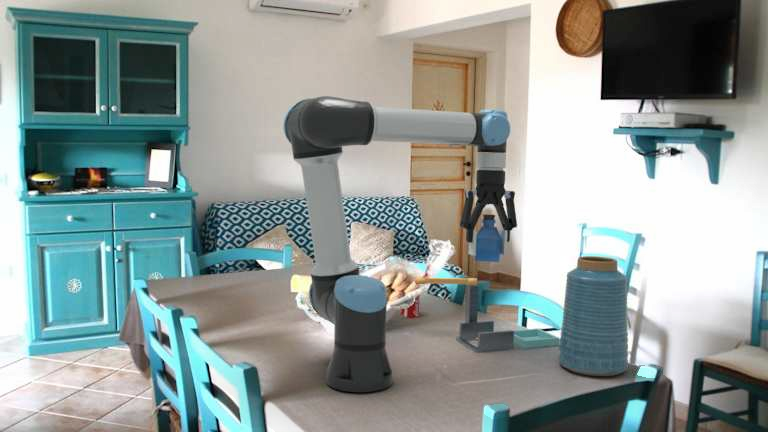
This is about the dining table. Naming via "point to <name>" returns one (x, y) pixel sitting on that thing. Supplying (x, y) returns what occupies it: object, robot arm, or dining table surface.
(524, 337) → the tray
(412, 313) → the beverage can
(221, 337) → the dining table surface
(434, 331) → the dining table surface
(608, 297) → the vase
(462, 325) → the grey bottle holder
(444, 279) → the bar
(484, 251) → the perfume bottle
